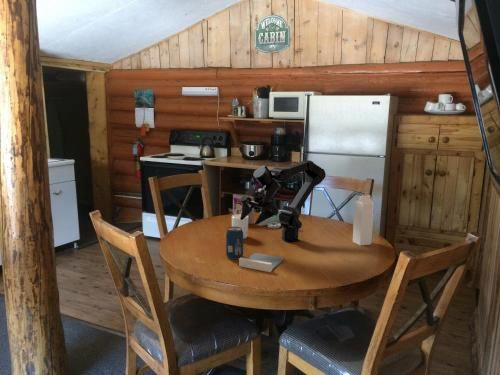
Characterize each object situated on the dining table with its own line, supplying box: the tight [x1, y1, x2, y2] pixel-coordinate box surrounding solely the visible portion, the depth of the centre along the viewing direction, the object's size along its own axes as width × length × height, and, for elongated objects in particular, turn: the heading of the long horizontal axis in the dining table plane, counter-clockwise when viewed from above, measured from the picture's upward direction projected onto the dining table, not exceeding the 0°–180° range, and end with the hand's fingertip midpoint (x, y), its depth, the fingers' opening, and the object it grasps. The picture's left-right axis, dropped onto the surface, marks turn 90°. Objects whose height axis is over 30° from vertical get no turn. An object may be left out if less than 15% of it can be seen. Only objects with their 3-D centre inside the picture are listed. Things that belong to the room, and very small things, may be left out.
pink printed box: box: [232, 193, 255, 225], centre depth 216 cm, size 11×7×15 cm, turn 40°
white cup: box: [231, 214, 249, 240], centre depth 194 cm, size 8×8×10 cm
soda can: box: [225, 226, 244, 260], centre depth 168 cm, size 7×7×12 cm
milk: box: [352, 194, 375, 246], centre depth 186 cm, size 6×6×22 cm
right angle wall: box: [259, 209, 282, 229], centre depth 211 cm, size 12×12×8 cm
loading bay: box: [238, 252, 285, 273], centre depth 163 cm, size 15×13×3 cm
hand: (248, 221), depth 171 cm, fingers open, 9 cm apart
